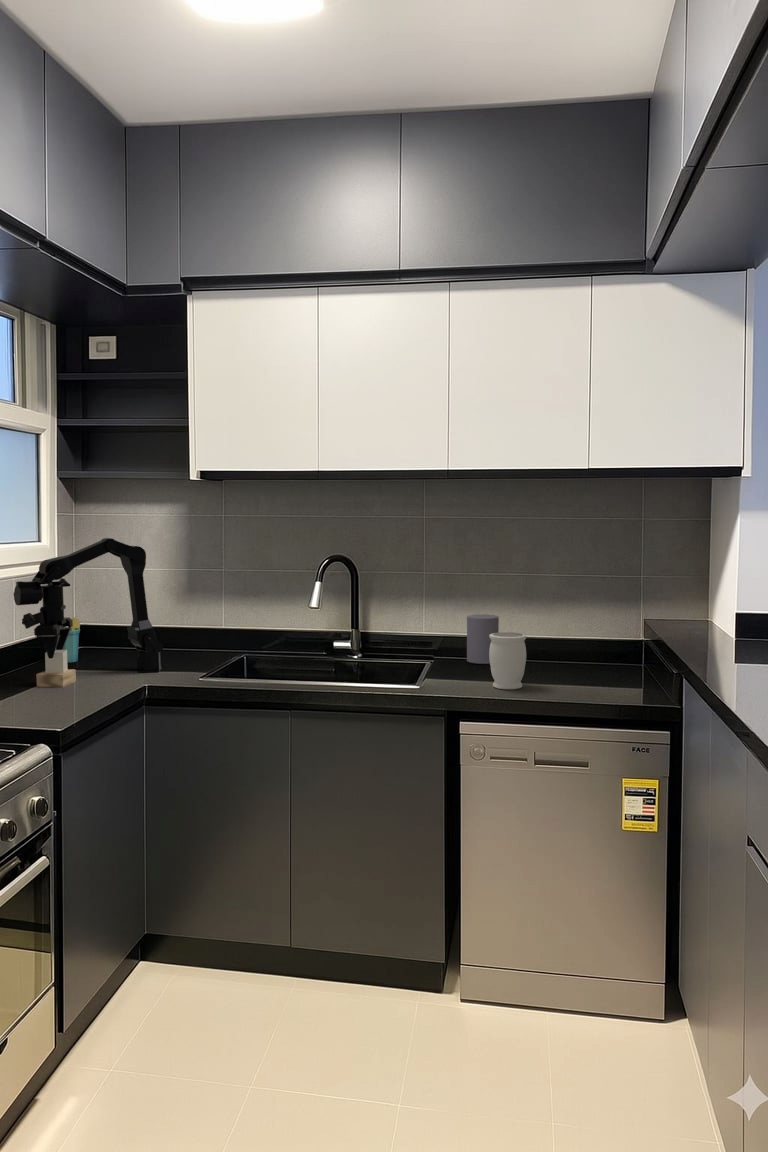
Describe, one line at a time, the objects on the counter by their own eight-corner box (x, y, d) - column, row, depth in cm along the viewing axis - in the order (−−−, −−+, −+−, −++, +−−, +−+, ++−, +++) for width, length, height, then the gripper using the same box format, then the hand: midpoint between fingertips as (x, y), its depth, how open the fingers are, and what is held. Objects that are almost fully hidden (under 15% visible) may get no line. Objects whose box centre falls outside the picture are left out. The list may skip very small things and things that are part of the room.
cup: (71, 665, 287) (69, 620, 286) (48, 665, 287) (46, 620, 286) (88, 657, 301) (86, 614, 300) (65, 657, 301) (64, 614, 300)
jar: (516, 692, 242) (517, 638, 241) (482, 688, 248) (483, 635, 246) (531, 685, 251) (532, 633, 250) (498, 681, 257) (498, 630, 255)
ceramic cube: (67, 669, 261) (66, 649, 260) (63, 672, 256) (62, 652, 255) (50, 670, 260) (49, 650, 260) (45, 673, 255) (45, 652, 255)
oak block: (75, 682, 261) (75, 669, 261) (63, 688, 254) (62, 674, 253) (50, 682, 262) (50, 668, 262) (36, 687, 255) (36, 674, 254)
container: (485, 657, 295) (485, 613, 294) (504, 662, 286) (505, 617, 285) (460, 660, 290) (460, 615, 289) (479, 665, 281) (479, 619, 280)
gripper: (34, 599, 264) (36, 650, 266) (14, 607, 246) (16, 662, 247) (72, 599, 265) (74, 650, 267) (55, 606, 247) (57, 661, 248)
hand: (55, 655), depth 257 cm, fingers open, 9 cm apart
